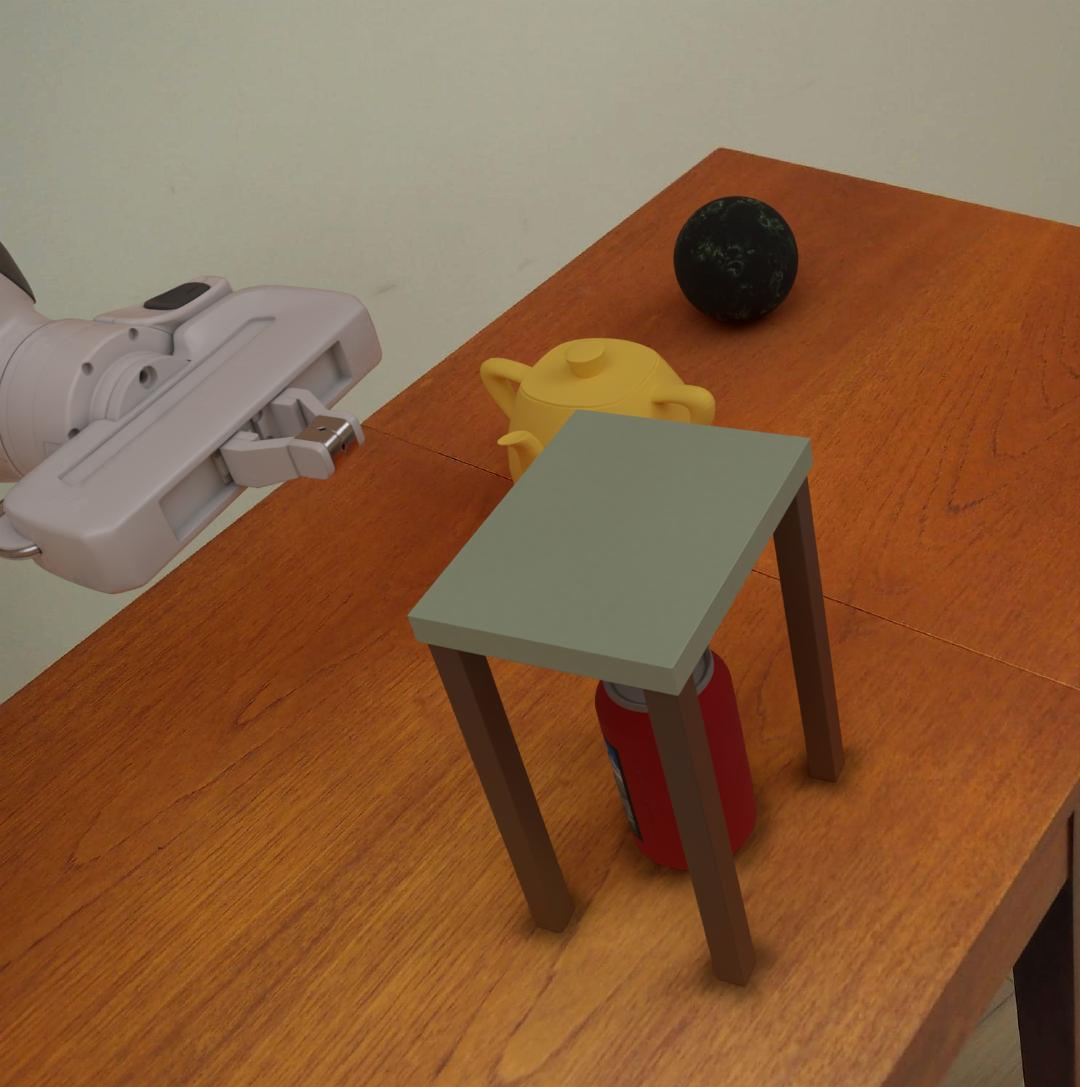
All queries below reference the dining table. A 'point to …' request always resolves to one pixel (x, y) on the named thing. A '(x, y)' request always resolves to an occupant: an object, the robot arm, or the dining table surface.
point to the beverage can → (643, 768)
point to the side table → (633, 622)
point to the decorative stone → (736, 259)
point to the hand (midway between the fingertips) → (344, 447)
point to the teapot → (587, 392)
